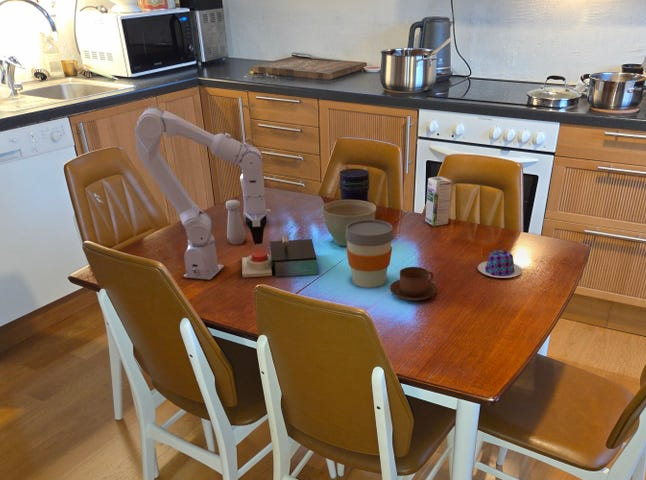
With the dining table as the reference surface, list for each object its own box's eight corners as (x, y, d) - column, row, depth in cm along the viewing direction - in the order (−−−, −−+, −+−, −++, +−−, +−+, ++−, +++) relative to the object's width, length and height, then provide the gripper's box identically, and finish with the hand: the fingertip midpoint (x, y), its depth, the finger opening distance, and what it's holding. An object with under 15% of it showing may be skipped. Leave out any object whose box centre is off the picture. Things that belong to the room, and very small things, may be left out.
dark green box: (275, 277, 176) (274, 262, 174) (273, 257, 188) (272, 243, 186) (317, 274, 177) (316, 259, 175) (312, 254, 189) (311, 241, 187)
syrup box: (424, 221, 214) (426, 177, 206) (439, 218, 216) (442, 175, 208) (433, 226, 209) (436, 182, 202) (448, 224, 211) (452, 180, 204)
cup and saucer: (407, 281, 173) (408, 259, 170) (445, 292, 166) (447, 270, 163) (380, 296, 165) (381, 274, 162) (419, 309, 159) (420, 286, 155)
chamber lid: (271, 262, 173) (270, 248, 171) (269, 243, 186) (268, 230, 184) (316, 259, 175) (316, 245, 173) (311, 240, 187) (311, 227, 185)
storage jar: (374, 215, 219) (374, 171, 212) (359, 223, 212) (359, 178, 205) (349, 210, 224) (349, 167, 216) (334, 218, 217) (333, 173, 209)
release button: (252, 263, 178) (251, 257, 177) (251, 257, 182) (251, 251, 181) (267, 262, 179) (267, 256, 178) (267, 256, 182) (266, 250, 181)
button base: (242, 277, 176) (241, 268, 174) (242, 260, 186) (241, 251, 184) (274, 275, 177) (273, 266, 175) (272, 258, 187) (271, 249, 185)
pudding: (506, 260, 185) (508, 243, 182) (530, 276, 175) (533, 258, 172) (469, 266, 181) (471, 249, 178) (492, 283, 171) (494, 264, 169)
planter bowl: (384, 246, 194) (385, 211, 189) (334, 254, 189) (333, 218, 184) (363, 229, 207) (364, 196, 202) (316, 236, 202) (315, 202, 197)
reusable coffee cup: (352, 292, 167) (352, 238, 159) (340, 274, 177) (339, 221, 169) (398, 287, 170) (400, 232, 162) (383, 269, 180) (384, 217, 172)
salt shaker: (248, 239, 201) (244, 198, 194) (244, 245, 196) (239, 204, 189) (230, 238, 201) (225, 197, 195) (225, 245, 196) (220, 203, 190)
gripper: (270, 202, 165) (273, 252, 172) (268, 186, 177) (271, 233, 184) (242, 203, 164) (247, 253, 171) (242, 187, 176) (247, 234, 183)
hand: (258, 243), depth 178 cm, fingers closed
